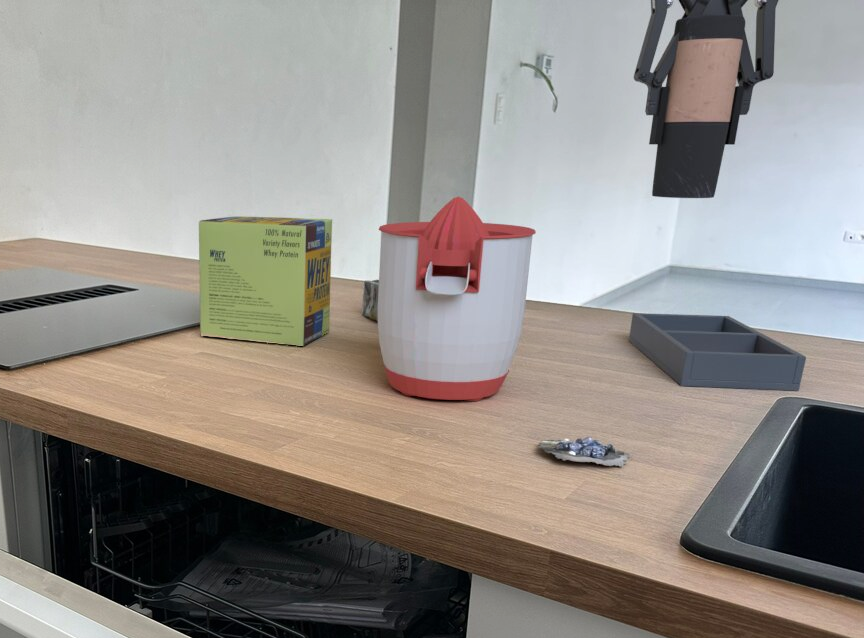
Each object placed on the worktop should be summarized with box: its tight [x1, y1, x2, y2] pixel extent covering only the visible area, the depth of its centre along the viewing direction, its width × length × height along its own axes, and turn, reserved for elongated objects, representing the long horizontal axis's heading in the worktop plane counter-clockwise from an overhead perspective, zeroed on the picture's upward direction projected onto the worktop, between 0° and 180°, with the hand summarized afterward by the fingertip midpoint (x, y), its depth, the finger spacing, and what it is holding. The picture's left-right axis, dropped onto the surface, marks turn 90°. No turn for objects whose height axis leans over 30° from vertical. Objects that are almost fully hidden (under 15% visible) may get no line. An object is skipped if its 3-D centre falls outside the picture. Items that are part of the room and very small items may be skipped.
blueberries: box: [536, 436, 631, 468], centre depth 73 cm, size 7×8×2 cm
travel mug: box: [651, 15, 746, 199], centre depth 104 cm, size 8×8×20 cm
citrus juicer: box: [377, 196, 537, 402], centre depth 89 cm, size 16×17×20 cm
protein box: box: [198, 215, 333, 347], centre depth 116 cm, size 10×15×16 cm
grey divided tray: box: [628, 312, 807, 392], centre depth 104 cm, size 12×23×4 cm, turn 171°
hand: (690, 144), depth 105 cm, fingers closed on travel mug, 8 cm apart
